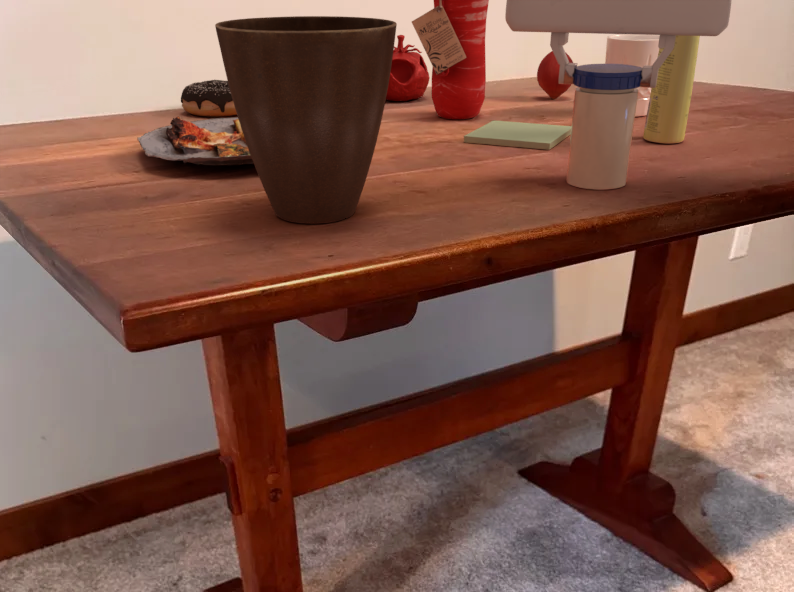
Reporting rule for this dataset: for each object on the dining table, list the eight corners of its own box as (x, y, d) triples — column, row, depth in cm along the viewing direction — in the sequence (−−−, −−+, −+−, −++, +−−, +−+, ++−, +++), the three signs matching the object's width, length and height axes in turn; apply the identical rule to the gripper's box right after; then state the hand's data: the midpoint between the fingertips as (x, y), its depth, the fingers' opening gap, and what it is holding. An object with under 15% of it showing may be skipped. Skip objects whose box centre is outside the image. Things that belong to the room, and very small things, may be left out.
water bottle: (444, 127, 107) (449, -91, 95) (401, 120, 112) (401, -89, 100) (499, 115, 115) (511, -89, 102) (457, 108, 120) (463, -87, 107)
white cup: (666, 114, 114) (678, 37, 109) (625, 120, 111) (636, 41, 106) (627, 106, 120) (636, 33, 115) (587, 111, 117) (595, 36, 112)
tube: (696, 140, 99) (728, -40, 89) (676, 147, 96) (707, -39, 86) (654, 134, 102) (680, -41, 92) (634, 140, 99) (659, -40, 89)
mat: (573, 132, 104) (573, 126, 103) (549, 150, 95) (550, 143, 95) (493, 126, 108) (493, 120, 108) (463, 142, 99) (463, 135, 99)
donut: (171, 117, 116) (167, 88, 114) (202, 103, 126) (199, 76, 124) (244, 119, 114) (241, 89, 112) (269, 105, 125) (267, 77, 123)
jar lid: (584, 78, 81) (586, 62, 81) (649, 82, 79) (651, 65, 78) (563, 87, 77) (565, 70, 76) (631, 92, 74) (633, 74, 73)
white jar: (631, 178, 83) (645, 73, 78) (619, 192, 79) (633, 82, 74) (574, 172, 86) (584, 70, 81) (559, 186, 81) (569, 78, 76)
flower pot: (354, 184, 83) (348, 12, 75) (427, 221, 71) (430, 23, 63) (214, 204, 77) (192, 20, 69) (270, 248, 65) (251, 34, 57)
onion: (539, 95, 130) (543, 41, 126) (575, 96, 128) (580, 42, 124) (531, 100, 125) (535, 45, 121) (568, 102, 123) (574, 46, 119)
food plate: (132, 140, 103) (127, 112, 101) (306, 126, 110) (305, 98, 108) (156, 187, 82) (150, 152, 81) (368, 165, 89) (367, 133, 88)
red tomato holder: (354, 98, 129) (352, 35, 124) (400, 91, 134) (400, 30, 130) (396, 106, 122) (396, 39, 117) (442, 98, 128) (443, 34, 123)
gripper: (751, -83, 70) (719, 84, 77) (520, -79, 76) (510, 76, 83) (754, -85, 65) (719, 95, 72) (506, -81, 71) (497, 85, 78)
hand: (606, 85), depth 78 cm, fingers closed on jar lid, 6 cm apart
